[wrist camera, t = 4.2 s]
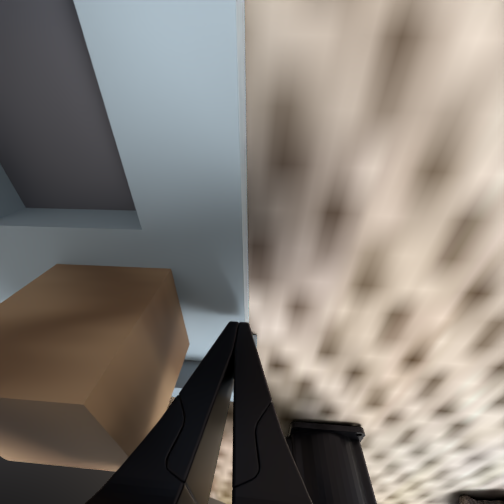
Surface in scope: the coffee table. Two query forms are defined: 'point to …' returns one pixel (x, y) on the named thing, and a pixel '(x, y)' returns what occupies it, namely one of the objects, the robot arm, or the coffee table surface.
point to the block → (88, 363)
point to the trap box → (128, 148)
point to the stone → (476, 501)
